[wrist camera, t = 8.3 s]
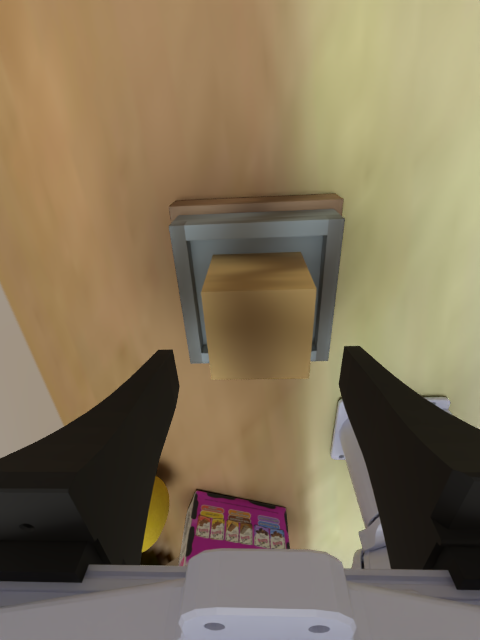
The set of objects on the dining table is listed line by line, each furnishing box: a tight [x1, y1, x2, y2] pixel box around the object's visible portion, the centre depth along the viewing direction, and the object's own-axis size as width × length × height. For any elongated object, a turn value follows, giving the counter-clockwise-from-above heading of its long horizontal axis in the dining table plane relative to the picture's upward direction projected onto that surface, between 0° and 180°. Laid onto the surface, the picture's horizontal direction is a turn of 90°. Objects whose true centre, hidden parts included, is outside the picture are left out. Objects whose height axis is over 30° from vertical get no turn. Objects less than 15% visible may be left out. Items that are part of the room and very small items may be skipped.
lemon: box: [142, 476, 169, 552], centre depth 31 cm, size 6×6×8 cm
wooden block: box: [201, 252, 317, 380], centre depth 17 cm, size 5×5×5 cm
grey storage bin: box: [169, 194, 345, 363], centre depth 20 cm, size 10×10×4 cm
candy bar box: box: [178, 491, 290, 566], centre depth 30 cm, size 11×5×16 cm, turn 73°
